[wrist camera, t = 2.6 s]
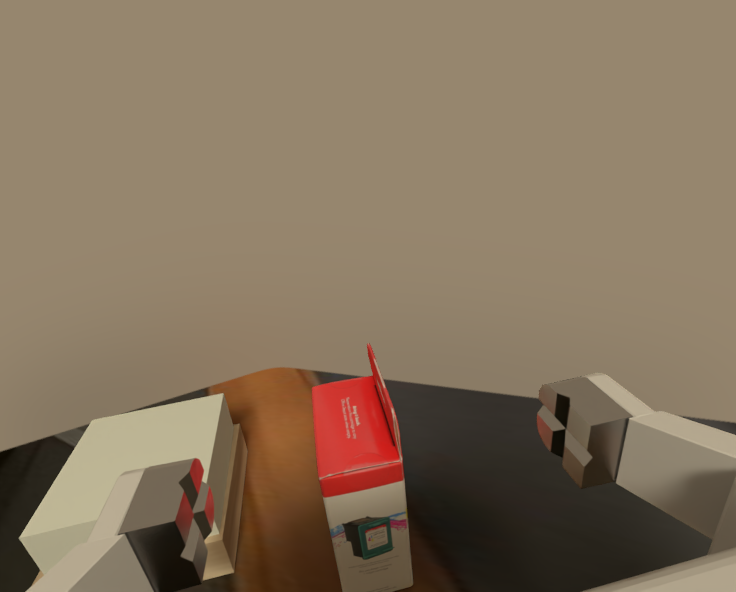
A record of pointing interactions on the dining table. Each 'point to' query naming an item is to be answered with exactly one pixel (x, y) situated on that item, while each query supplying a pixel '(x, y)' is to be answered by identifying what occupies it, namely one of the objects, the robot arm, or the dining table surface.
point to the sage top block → (128, 468)
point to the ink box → (363, 482)
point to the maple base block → (225, 514)
